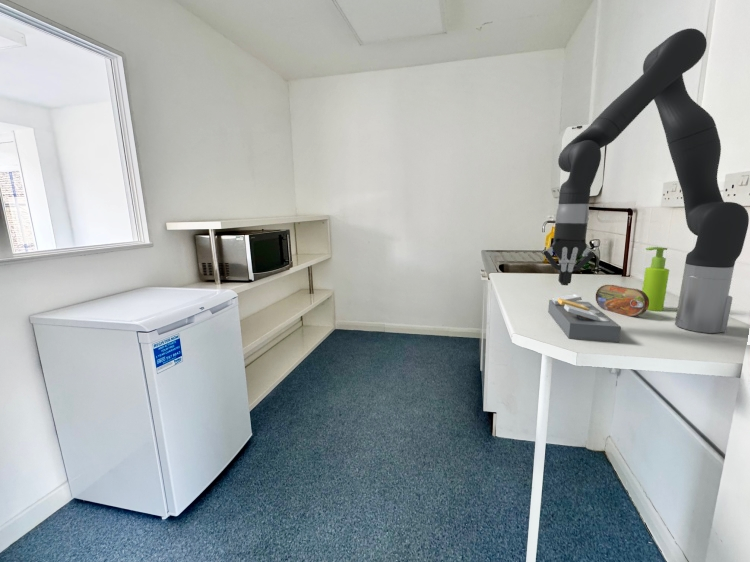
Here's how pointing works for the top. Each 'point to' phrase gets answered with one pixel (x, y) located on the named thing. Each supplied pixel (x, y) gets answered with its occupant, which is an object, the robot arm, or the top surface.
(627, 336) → the top surface
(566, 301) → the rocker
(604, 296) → the tin
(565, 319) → the rocker switch panel
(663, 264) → the soap dispenser
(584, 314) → the rocker
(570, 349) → the top surface
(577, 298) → the rocker
